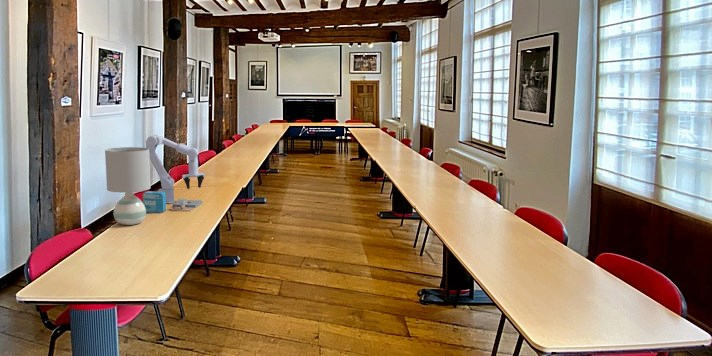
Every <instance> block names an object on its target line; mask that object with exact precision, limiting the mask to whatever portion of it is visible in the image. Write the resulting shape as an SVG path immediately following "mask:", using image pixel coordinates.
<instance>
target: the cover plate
mask: <svg viewBox="0 0 712 356" xmlns="http://www.w3.org/2000/svg"><path fill="white" fill-rule="evenodd" d="M186 200H187V204H185V207H190V208H195V209H196V208H198V207H199V206H201V205H203V199H201V200H200V199H199V200H198V199H197V200H196V199H186ZM175 207H181V205H180V203H178V201H176V202H174V203H173V204H172V209H173V208H175Z"/></svg>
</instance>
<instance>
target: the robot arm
mask: <svg viewBox="0 0 712 356" xmlns="http://www.w3.org/2000/svg"><path fill="white" fill-rule="evenodd" d="M145 140H146V141H145V148H148V149H149V158H150V163H151V164H152V166H153V167H154V169H155V171H156V173H157V174H158V176H159V181H160V183H161V184H160V185H161V188H158V191H157V192H164V193H165V194H166V205H167V204H168V205H169V204H171V205H173V204H174V203H176V202H177V200H176V199H175V188H174V185H175V179H173V177H171V175H170V174H169V173H168V172H167V170H166V169H165V167H164V165H163V163H162V161H161V160H160V158H159V156H158V154H157V153H156V152H157V151H156V149H157V148H158V147H157V146H158V145H159V146H160V145H165V146H167V147H171V148H173V149H175V150H176V152H177V153H180V154H182V155H185V156H187V157H188V173H186V174H182V175H181V178H182V180H183V181H184V183H185V186H186V189H188V190H190V188H191V187H190V181H191V178H196V179H197V188H199V189H200V188H201V186H202V185H203V184H202V183H203V182H204V180H205V177H206V174H205V173H204V172H199V159H198V158H199V157H198V156H199V150H198V149H197V148H196V147H192V146H188V145H186V143H185V142H184V143H183V142H182V143H176V142H174V141H172V140H170V139H168V138H166V137H163V136H160V135H157V134H153V135H149V136H148V137H147V138H146V139H145Z"/></svg>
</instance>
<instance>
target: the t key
mask: <svg viewBox="0 0 712 356" xmlns="http://www.w3.org/2000/svg"><path fill="white" fill-rule="evenodd" d="M187 200H188V199H187V198H184V197H178V198H177V202H178V203H180V205H181V209H185V204H187Z"/></svg>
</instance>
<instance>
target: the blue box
mask: <svg viewBox="0 0 712 356" xmlns="http://www.w3.org/2000/svg"><path fill="white" fill-rule="evenodd" d="M142 202H143V204H144V206H145V208H146V214H147V213H150V214H152V213H153V214H162V213H164V212H165V211H166V210H167V203H166V194H165V193H164V192H158V191H152V190H151V191H149V190H146V192H144V193H142Z"/></svg>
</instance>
